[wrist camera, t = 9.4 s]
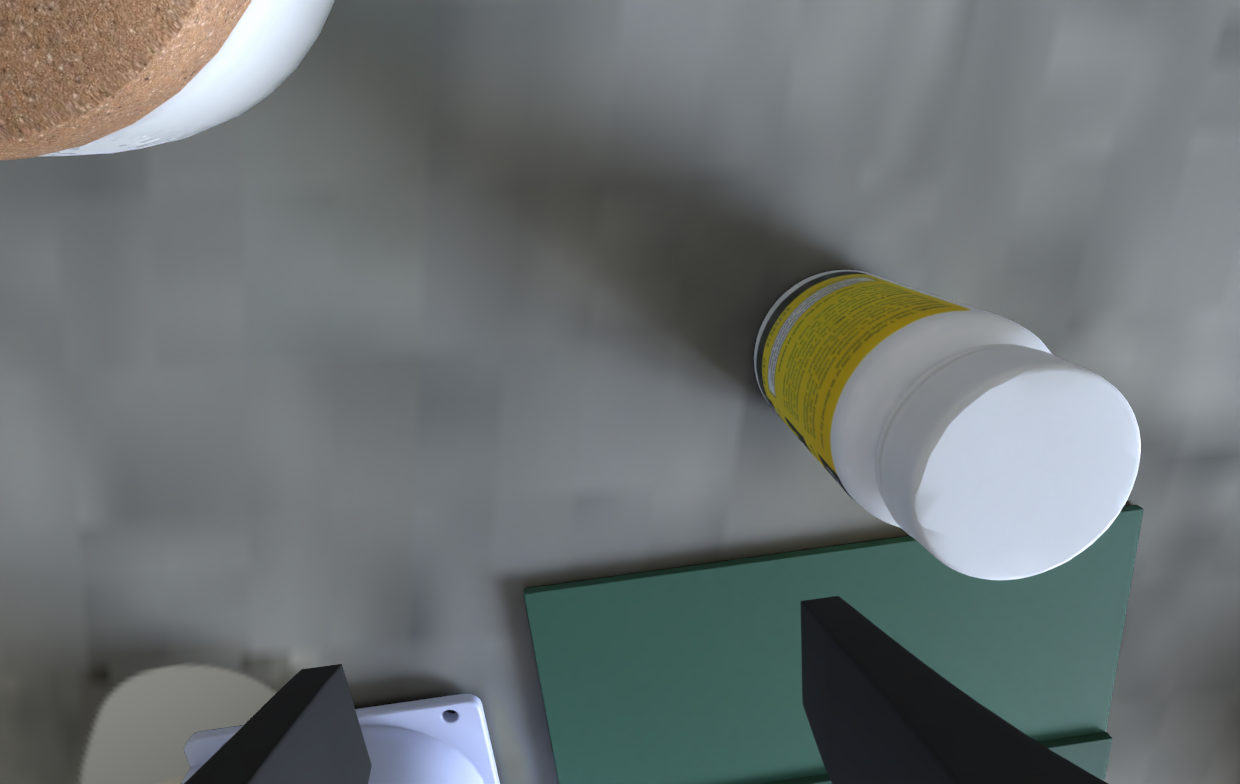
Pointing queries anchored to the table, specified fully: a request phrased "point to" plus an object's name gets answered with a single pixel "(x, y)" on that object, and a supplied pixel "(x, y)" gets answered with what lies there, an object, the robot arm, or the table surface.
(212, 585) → the table surface
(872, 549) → the green board
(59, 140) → the trinket box
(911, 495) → the supplement bottle
